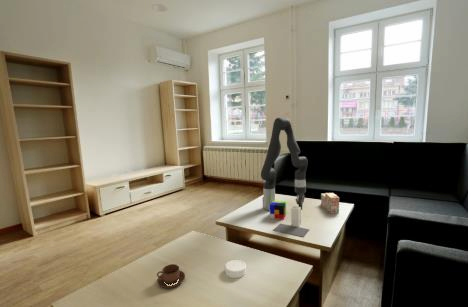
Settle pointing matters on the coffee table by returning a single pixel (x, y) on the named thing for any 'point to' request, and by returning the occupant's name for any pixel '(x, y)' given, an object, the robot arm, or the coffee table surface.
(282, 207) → the puzzle toy
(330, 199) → the stack of blocks
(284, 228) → the mat
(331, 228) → the coffee table surface
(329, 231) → the coffee table surface
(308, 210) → the coffee table surface
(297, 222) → the tall block
